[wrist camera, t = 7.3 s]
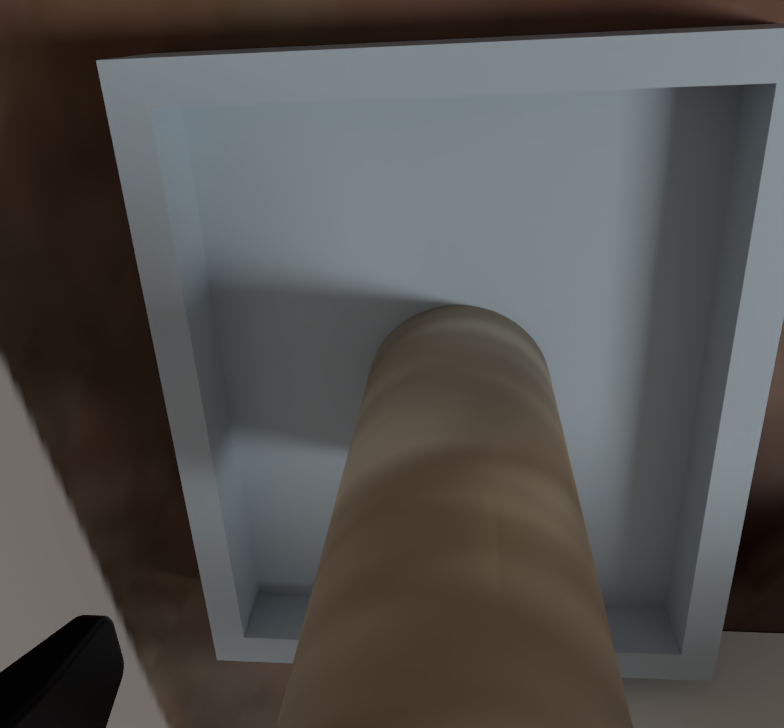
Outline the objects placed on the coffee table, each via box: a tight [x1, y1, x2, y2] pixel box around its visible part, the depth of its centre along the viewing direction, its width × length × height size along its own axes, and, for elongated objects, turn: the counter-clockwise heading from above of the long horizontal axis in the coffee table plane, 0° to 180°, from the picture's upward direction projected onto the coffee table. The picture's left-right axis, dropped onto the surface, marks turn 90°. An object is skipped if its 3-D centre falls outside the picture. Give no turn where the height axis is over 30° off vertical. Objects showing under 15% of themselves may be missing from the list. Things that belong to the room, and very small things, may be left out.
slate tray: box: [96, 23, 784, 681], centre depth 16 cm, size 12×14×2 cm
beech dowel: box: [276, 305, 633, 728], centre depth 11 cm, size 4×4×11 cm
